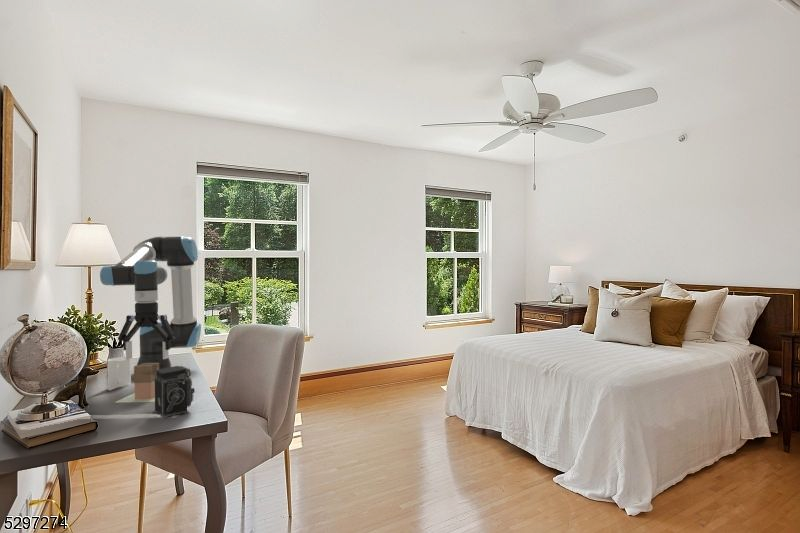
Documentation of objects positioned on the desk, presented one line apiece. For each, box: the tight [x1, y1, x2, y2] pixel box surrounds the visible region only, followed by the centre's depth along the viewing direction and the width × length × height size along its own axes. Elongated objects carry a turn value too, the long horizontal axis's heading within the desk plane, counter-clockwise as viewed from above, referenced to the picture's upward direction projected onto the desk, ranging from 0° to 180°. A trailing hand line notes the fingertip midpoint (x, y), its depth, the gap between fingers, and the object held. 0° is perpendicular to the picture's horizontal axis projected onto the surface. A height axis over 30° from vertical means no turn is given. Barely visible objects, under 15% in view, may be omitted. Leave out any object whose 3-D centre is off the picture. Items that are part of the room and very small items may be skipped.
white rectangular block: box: [106, 356, 132, 391], centre depth 186 cm, size 12×8×12 cm
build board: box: [114, 392, 155, 404], centre depth 169 cm, size 14×16×1 cm
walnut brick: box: [133, 363, 159, 384], centre depth 169 cm, size 6×6×6 cm
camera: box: [154, 365, 196, 418], centre depth 154 cm, size 10×10×15 cm
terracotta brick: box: [134, 381, 155, 399], centre depth 169 cm, size 6×6×6 cm
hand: (147, 358), depth 170 cm, fingers open, 13 cm apart
